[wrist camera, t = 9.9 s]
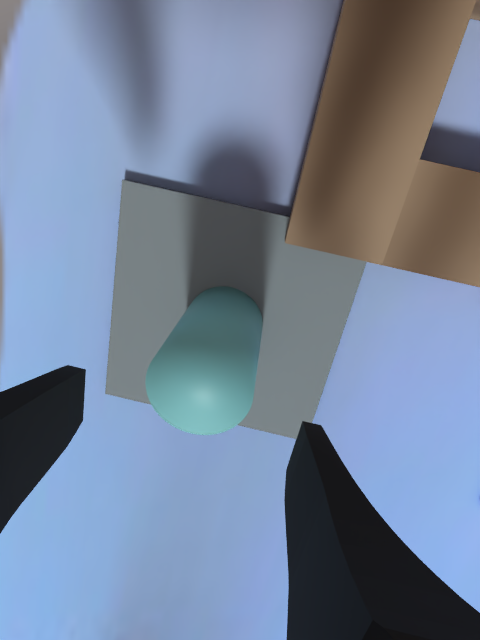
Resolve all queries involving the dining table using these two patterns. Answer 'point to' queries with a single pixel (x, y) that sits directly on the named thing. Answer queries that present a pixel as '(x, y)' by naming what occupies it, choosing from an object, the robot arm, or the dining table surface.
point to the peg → (208, 363)
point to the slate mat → (231, 271)
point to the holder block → (389, 145)
